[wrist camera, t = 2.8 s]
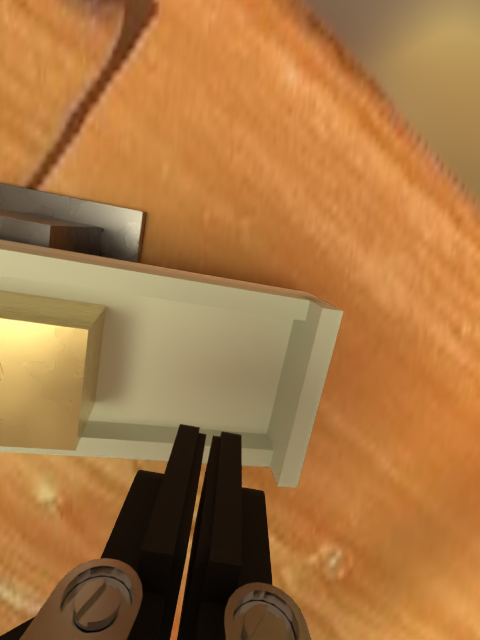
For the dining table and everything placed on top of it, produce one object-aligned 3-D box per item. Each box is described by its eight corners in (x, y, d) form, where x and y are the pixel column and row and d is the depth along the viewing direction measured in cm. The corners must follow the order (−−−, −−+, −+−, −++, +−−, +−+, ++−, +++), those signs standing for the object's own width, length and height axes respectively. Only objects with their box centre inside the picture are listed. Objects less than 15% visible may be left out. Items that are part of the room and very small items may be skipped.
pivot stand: (146, 212, 25) (106, 203, 18) (121, 398, 29) (78, 461, 21) (-3, 182, 25) (-112, 160, 17) (-11, 375, 28) (-106, 430, 20)
